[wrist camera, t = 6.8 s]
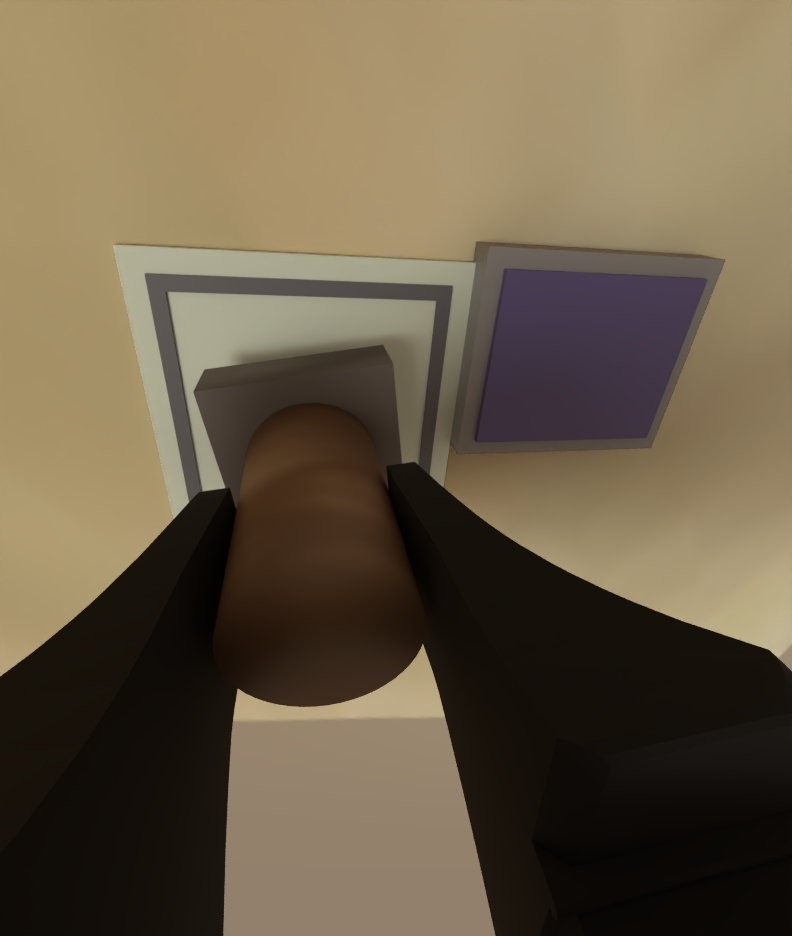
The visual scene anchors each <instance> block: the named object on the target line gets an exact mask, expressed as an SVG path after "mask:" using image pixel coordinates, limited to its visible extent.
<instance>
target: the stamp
mask: <svg viewBox="0 0 792 936" xmlns="http://www.w3.org/2000/svg"><path fill="white" fill-rule="evenodd" d="M193 393H194V396H195V399H196V402H197V405H198V408H199V411H200V414H201V417H202V420H203V423H204V426H205V429H206V432H207V435H208V438H209V441H210V444H211V447H212V450H213V452H214V455H215V458H216V461H217V464H218V467H219V470H220V473H221V476H222V479H223V482H224V485H225V488H230V490H231V493H232V496H233V500H234V503H235V507H236V515H235V520H234V525H233V531H232V536H231V542H230V547H229V553H228V558H227V564H226V569H225V574H224V580H223V585H222V591H221V596H220V602H219V607H218V612H217V618H216V623H215V629H214V634H213V645H212V646H213V654H214V658H215V661H216V663H217V666H218V667H219V669H220V671H221V672H222V674H223V675H224V676H225V677H226V678H227V680H228V681H229V682H231V683H232V684H233V685H234V686H235V687H237V688H238V689H240V690H241V691H243V692H244V693H246V694H248V695H251V696H253V697H255V698H257V699H260V700H263V701H266V702H270V703H274V704H279V705H286V706H298V707H311V706H324V705H331V704H336V703H341V702H345V701H349V700H352V699H355V698H358V697H361V696H364V695H366V694H368V693H370V692H373V691H375V690H377V689H379V688H380V687H382V686H384V685H386V684H387V683H389V682H390V681H392V680H393V679H394V678H396V677H397V676H398V675H399V674H401V673H402V672H403V671H404V670H405V669H406V668H407V667H408V666H409V665H410V664H411V662H412V661H413V660H414V658H415V657H416V656H417V654H418V652H419V650H420V649H421V647H422V644H423V641H424V639H425V634H426V623H427V621H426V615H425V610H424V607H423V604H422V600H421V597H420V594H419V590H418V587H417V584H416V581H415V577H414V574H413V571H412V567H411V564H410V561H409V557H408V554H407V551H406V548H405V544H404V541H403V538H402V534H401V531H400V528H399V524H398V521H397V518H396V515H395V511H394V508H393V505H392V501H391V498H390V495H389V492H388V478H387V466H388V465H395V464H402V457H401V446H400V435H399V423H398V412H397V401H396V390H395V379H394V367H393V362H392V360H391V358H390V357H389V355H388V353H387V351H386V349H385V348H384V346H383V345H377V346H370V347H363V348H356V349H348V350H341V351H334V352H327V353H319V354H312V355H305V356H298V357H290V358H283V359H276V360H269V361H261V362H254V363H247V364H240V365H232V366H225V367H218V368H211V369H204V371H203V373H202V375H201V377H200V379H199V381H198V383H197V385H196V387H195V389H194V391H193Z"/></svg>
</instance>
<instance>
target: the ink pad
mask: <svg viewBox="0 0 792 936" xmlns="http://www.w3.org/2000/svg"><path fill="white" fill-rule="evenodd" d="M474 262H475V263H476V266H475V273H474V280H473V287H472V294H471V301H470V308H469V315H468V322H467V329H466V336H465V342H464V349H463V356H462V363H461V370H460V377H459V384H458V391H457V398H456V405H455V412H454V419H453V426H452V433H451V440H450V443H451V444H452V446H453V448H454V450H455V451H456V453H457V454H473V453H506V452H538V451H571V450H603V449H636V448H651V446H652V444H653V441H654V439H655V436H656V434H657V431H658V428H659V426H660V423H661V421H662V418H663V416H664V413H665V411H666V408H667V406H668V403H669V401H670V398H671V396H672V393H673V391H674V388H675V386H676V383H677V381H678V378H679V376H680V373H681V370H682V368H683V365H684V363H685V360H686V358H687V355H688V353H689V350H690V348H691V345H692V343H693V340H694V338H695V335H696V333H697V330H698V328H699V325H700V323H701V320H702V317H703V315H704V312H705V310H706V307H707V305H708V302H709V300H710V297H711V295H712V292H713V290H714V287H715V285H716V282H717V280H718V277H719V275H720V272H721V270H722V267H723V265H724V262H725V260H724V259H718V258H713V257H707V256H702V255H690V254H673V253H656V252H639V251H622V250H605V249H589V248H572V247H555V246H538V245H521V244H504V243H487V242H476V248H475V256H474Z"/></svg>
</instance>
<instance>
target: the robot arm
mask: <svg viewBox="0 0 792 936" xmlns="http://www.w3.org/2000/svg"><path fill="white" fill-rule="evenodd" d="M387 478H388V492H389V495H390V498H391V501H392V505H393V508H394V511H395V515H396V518H397V521H398V524H399V528H400V531H401V534H402V538H403V541H404V544H405V548H406V551H407V554H408V557H409V561H410V564H411V567H412V571H413V574H414V577H415V581H416V584H417V587H418V590H419V594H420V597H421V600H422V604H423V607H424V610H425V615H426V621H427V623H426V634H425V639H424V641H423V645H424V648H425V650H426V653H427V656H428V659H429V662H430V665H431V668H432V670H433V674H434V677H435V680H436V684H437V687H438V690H439V694H440V698H441V702H442V706H443V710H444V714H445V718H446V722H447V725H448V730H449V734H450V738H451V742H452V747H453V750H454V755H455V759H456V763H457V767H458V772H459V776H460V780H461V784H462V788H463V793H464V797H465V801H466V806H467V810H468V814H469V819H470V823H471V827H472V831H473V836H474V840H475V845H476V849H477V854H478V858H479V862H480V867H481V871H482V876H483V880H484V885H485V889H486V894H487V899H488V903H489V908H490V912H491V917H492V921H493V926H494V930H495V935H496V936H792V671H791V670H790V669H789V668H788V667H787V666H786V665H785V664H784V663H783V662H782V661H780V660H779V659H778V658H777V657H776V656H775V655H774V654H773V653H772V652H771V651H770V650H768V649H765V648H762V647H758V646H755V645H752V644H749V643H746V642H743V641H740V640H737V639H734V638H731V637H728V636H725V635H722V634H719V633H716V632H713V631H710V630H707V629H704V628H701V627H698V626H695V625H692V624H689V623H686V622H683V621H681V620H678V619H675V618H672V617H670V616H667V615H665V614H662V613H660V612H657V611H655V610H652V609H650V608H647V607H645V606H642V605H640V604H637V603H634V602H632V601H630V600H627V599H625V598H623V597H620V596H618V595H616V594H613V593H611V592H609V591H607V590H604V589H602V588H600V587H598V586H596V585H594V584H592V583H590V582H588V581H586V580H584V579H581V578H579V577H577V576H575V575H573V574H571V573H569V572H567V571H565V570H563V569H561V568H560V567H558V566H556V565H554V564H552V563H550V562H548V561H547V560H545V559H543V558H541V557H540V556H538V555H536V554H535V553H533V552H531V551H529V550H528V549H526V548H524V547H523V546H521V545H519V544H518V543H516V542H515V541H513V540H511V539H510V538H508V537H507V536H505V535H504V534H502V533H501V532H500V531H498V530H497V529H495V528H494V527H492V526H491V525H490V524H488V523H487V522H485V521H484V520H483V519H481V518H480V517H479V516H477V515H476V514H475V513H474V512H472V511H471V510H470V509H469V508H467V507H466V506H465V505H464V504H462V503H461V502H460V501H459V500H457V499H456V498H455V497H454V496H453V495H452V494H450V493H449V492H448V491H447V490H446V489H445V488H444V487H442V486H441V485H440V484H439V483H438V482H437V481H436V480H435V479H434V478H432V477H431V476H430V475H429V474H428V473H427V472H426V471H425V470H424V469H423V468H422V467H420V466H419V465H418V464H417V463H416V462H409V463H402V464H395V465H388V466H387ZM235 515H236V507H235V503H234V500H233V496H232V493H231V490H230V488H223V489H216V490H209V491H202V492H198V493H197V494H196V495H195V496H194V497H193V499H192V500H191V501H190V502H189V503H188V504H187V505H186V506H185V507H184V508H183V509H182V511H181V512H180V513H179V514H178V515H177V516H176V517H175V518H174V519H173V521H172V522H171V523H170V524H169V525H168V526H167V527H166V528H165V529H164V530H163V532H162V533H161V534H160V535H159V536H158V537H157V538H156V539H155V540H154V541H153V542H152V543H151V544H150V546H149V547H148V548H147V549H146V550H145V551H144V552H143V553H142V554H141V555H140V556H139V557H138V558H137V559H136V560H135V561H134V562H133V563H132V564H131V565H130V566H129V567H128V568H127V569H126V570H125V571H124V572H123V573H122V574H121V575H120V576H119V577H118V578H117V579H116V580H115V581H114V582H113V583H112V584H111V585H110V586H109V587H108V588H107V589H106V590H105V591H103V592H102V593H101V594H100V595H99V596H98V597H97V598H96V599H95V600H94V601H93V602H92V603H91V604H90V605H89V606H87V607H86V608H85V609H84V610H83V611H82V612H81V613H79V614H78V615H77V616H76V617H75V618H74V619H73V620H71V621H70V622H69V623H68V624H67V625H65V626H64V627H63V628H62V629H61V630H59V631H58V632H57V633H56V634H55V635H53V636H52V637H51V638H50V639H49V640H47V641H46V642H45V643H44V644H43V645H41V646H40V647H39V648H38V649H36V650H35V651H34V652H32V653H31V654H30V655H29V656H27V657H26V658H25V659H23V660H22V661H21V662H19V663H18V664H17V665H15V666H14V667H12V668H11V669H10V670H8V671H7V672H6V673H4V674H3V675H2V676H0V936H223V920H224V884H225V883H224V882H225V848H226V824H227V801H228V782H229V765H230V764H229V763H230V748H231V747H230V746H231V732H232V723H233V715H234V707H235V701H236V695H237V689H238V688H237V687H235V686H234V685H233V684H232V683H231V682H229V681H228V680H227V678H226V677H225V676H224V675H223V674H222V672H221V671H220V669H219V667H218V666H217V663H216V661H215V658H214V654H213V646H212V645H213V634H214V629H215V623H216V618H217V612H218V607H219V602H220V596H221V591H222V585H223V580H224V574H225V569H226V564H227V558H228V553H229V547H230V542H231V536H232V531H233V525H234V520H235Z"/></svg>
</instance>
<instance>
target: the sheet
mask: <svg viewBox="0 0 792 936" xmlns="http://www.w3.org/2000/svg"><path fill="white" fill-rule="evenodd" d="M113 249H114V253H115V258H116V262H117V267H118V271H119V276H120V280H121V285H122V289H123V294H124V299H125V303H126V308H127V312H128V317H129V321H130V326H131V330H132V335H133V339H134V344H135V348H136V353H137V357H138V362H139V366H140V371H141V375H142V380H143V384H144V389H145V393H146V398H147V402H148V407H149V411H150V416H151V420H152V425H153V429H154V434H155V438H156V443H157V447H158V452H159V456H160V461H161V466H162V470H163V475H164V479H165V484H166V488H167V493H168V497H169V502H170V506H171V511H172V515H173V519H174V518H175V517H176V516H177V515H178V514H179V513H180V512H181V511H182V509H183V508H184V507H185V506H186V505H187V504H188V503H189V502H190V501H191V500H192V499H193V497H194V496H195V495H196V494H197V493H198V492H202V491H209V490H216V489H223V488H225V485H224V482H223V479H222V476H221V473H220V470H219V467H218V464H217V461H216V458H215V455H214V452H213V450H212V447H211V444H210V441H209V438H208V435H207V432H206V429H205V426H204V423H203V420H202V417H201V414H200V411H199V408H198V405H197V402H196V399H195V396H194V393H193V391H194V389H195V387H196V385H197V383H198V381H199V379H200V377H201V375H202V373H203V371H204V369H211V368H218V367H225V366H232V365H240V364H247V363H254V362H261V361H269V360H276V359H283V358H290V357H298V356H305V355H312V354H319V353H327V352H334V351H341V350H348V349H356V348H363V347H370V346H377V345H383V346H384V348H385V349H386V351H387V353H388V355H389V357H390V358H391V360H392V362H393V367H394V379H395V390H396V401H397V412H398V423H399V435H400V446H401V457H402V463H409V462H416V463H417V464H418V465H419V466H420V467H422V468H423V469H424V470H425V471H426V472H427V473H428V474H429V475H430V476H431V477H432V478H434V479H435V480H436V481H437V482H438V483H439V484H440V485H441V486H442V487H444V481H445V474H446V468H447V461H448V454H449V447H450V440H451V433H452V426H453V419H454V412H455V405H456V398H457V391H458V384H459V377H460V370H461V363H462V356H463V349H464V342H465V336H466V329H467V322H468V315H469V308H470V301H471V294H472V287H473V280H474V273H475V266H476V263H475V262H465V261H445V260H426V259H406V258H386V257H367V256H347V255H327V254H307V253H288V252H268V251H248V250H229V249H209V248H189V247H169V246H150V245H130V244H113Z"/></svg>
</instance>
